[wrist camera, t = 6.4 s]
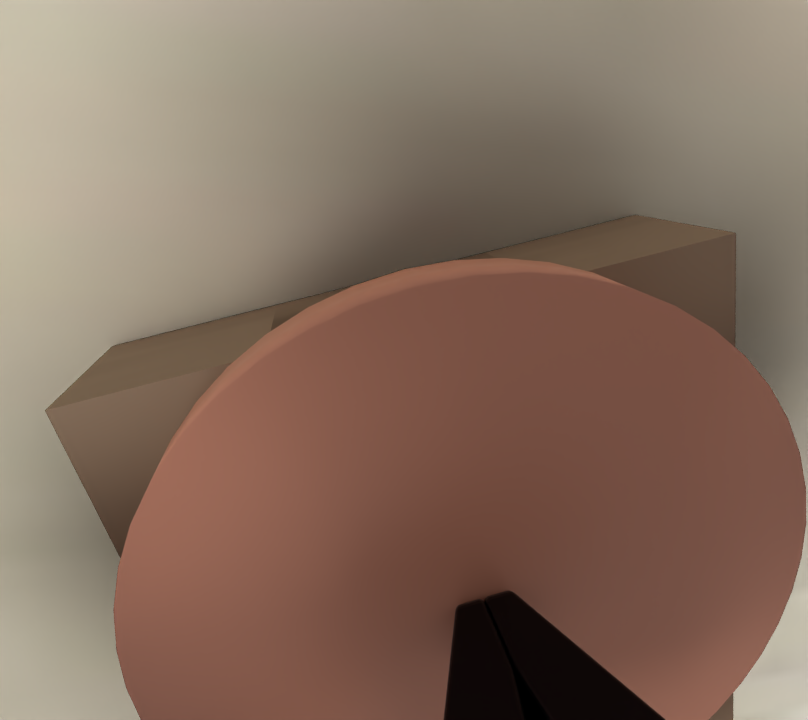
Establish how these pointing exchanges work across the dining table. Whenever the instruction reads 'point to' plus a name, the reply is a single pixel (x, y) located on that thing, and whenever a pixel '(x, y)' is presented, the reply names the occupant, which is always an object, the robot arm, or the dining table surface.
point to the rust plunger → (462, 501)
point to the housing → (230, 337)
